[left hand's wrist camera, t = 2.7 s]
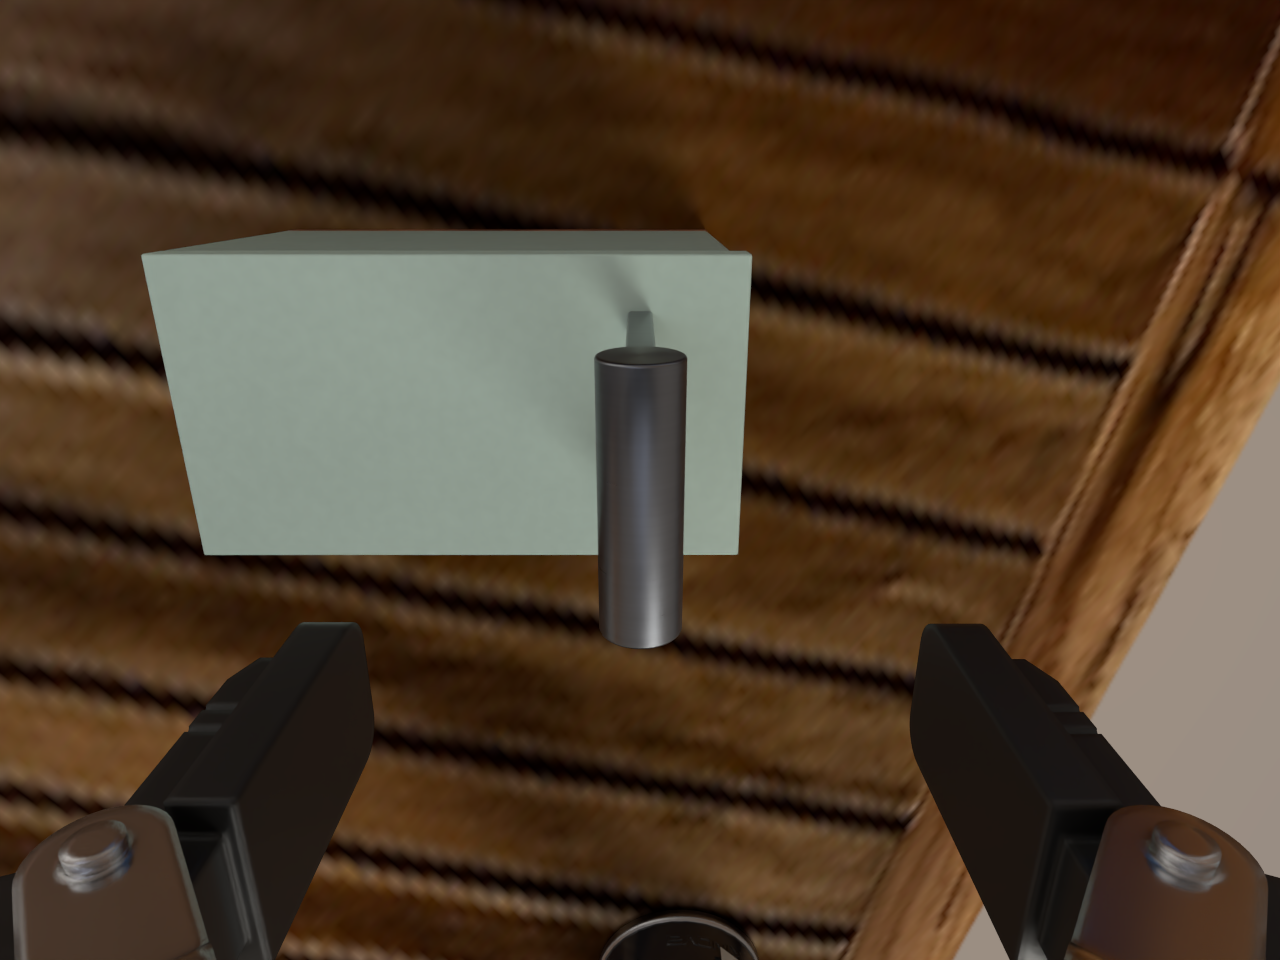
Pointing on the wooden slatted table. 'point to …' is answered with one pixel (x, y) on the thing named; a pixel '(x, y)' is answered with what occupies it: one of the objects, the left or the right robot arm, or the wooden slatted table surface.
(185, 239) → the wooden slatted table surface
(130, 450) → the wooden slatted table surface
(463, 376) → the lid
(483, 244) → the chest
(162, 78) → the wooden slatted table surface
